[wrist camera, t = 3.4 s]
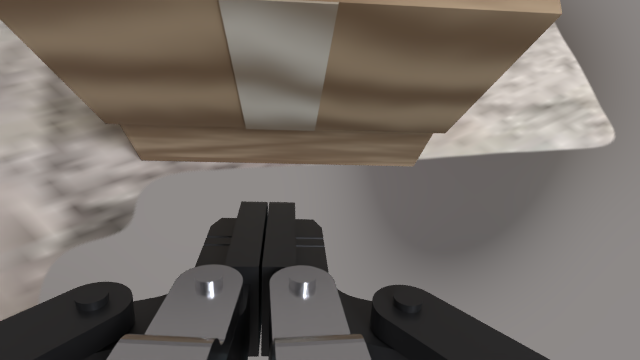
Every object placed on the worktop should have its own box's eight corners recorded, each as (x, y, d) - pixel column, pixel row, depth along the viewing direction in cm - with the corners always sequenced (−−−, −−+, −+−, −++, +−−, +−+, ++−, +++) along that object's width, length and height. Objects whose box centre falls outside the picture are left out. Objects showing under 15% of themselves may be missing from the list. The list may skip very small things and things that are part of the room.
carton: (413, 166, 40) (438, 124, 33) (141, 160, 38) (113, 115, 31) (398, 47, 46) (417, -8, 39) (163, 36, 44) (143, -23, 37)
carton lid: (444, 123, 33) (445, 134, 33) (107, 113, 31) (105, 125, 31) (559, -2, 19) (562, 15, 19) (-33, -35, 17) (-37, -16, 17)
